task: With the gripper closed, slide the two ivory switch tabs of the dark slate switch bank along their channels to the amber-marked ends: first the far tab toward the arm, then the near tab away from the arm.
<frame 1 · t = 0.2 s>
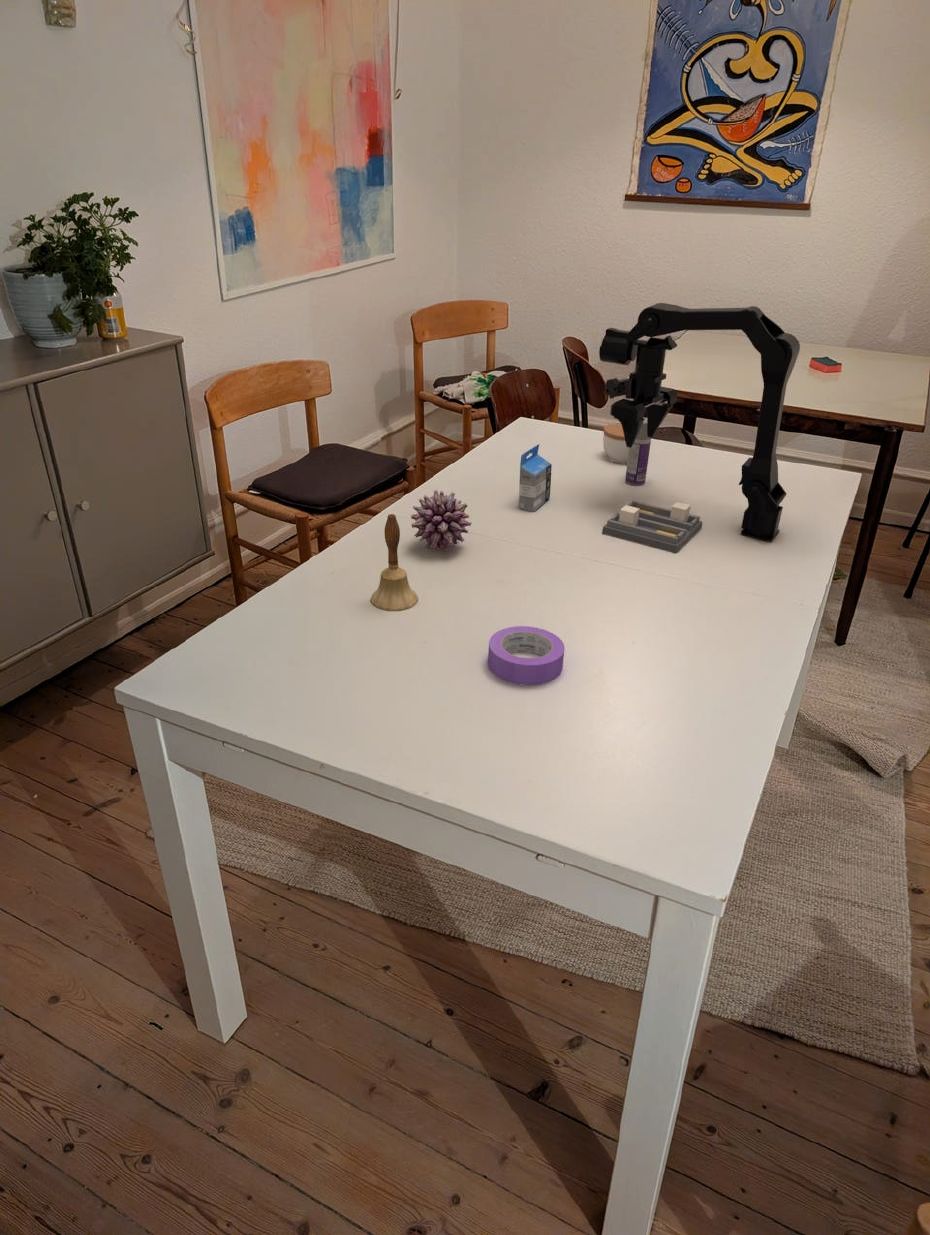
hand: (639, 442, 187), 14 cm above the table, fingers open, 9 cm apart
label tape box: (533, 505, 193), on the table
hand bell: (394, 600, 153), on the table
tab a: (680, 513, 181), point 3 cm above the table, slide at -4.0 cm
tab b: (628, 517, 179), point 3 cm above the table, slide at 4.0 cm
flower: (440, 549, 172), on the table
switch bank: (652, 530, 182), on the table
lidded jar: (621, 460, 220), on the table
masking tape: (525, 666, 136), on the table
container: (634, 483, 206), on the table
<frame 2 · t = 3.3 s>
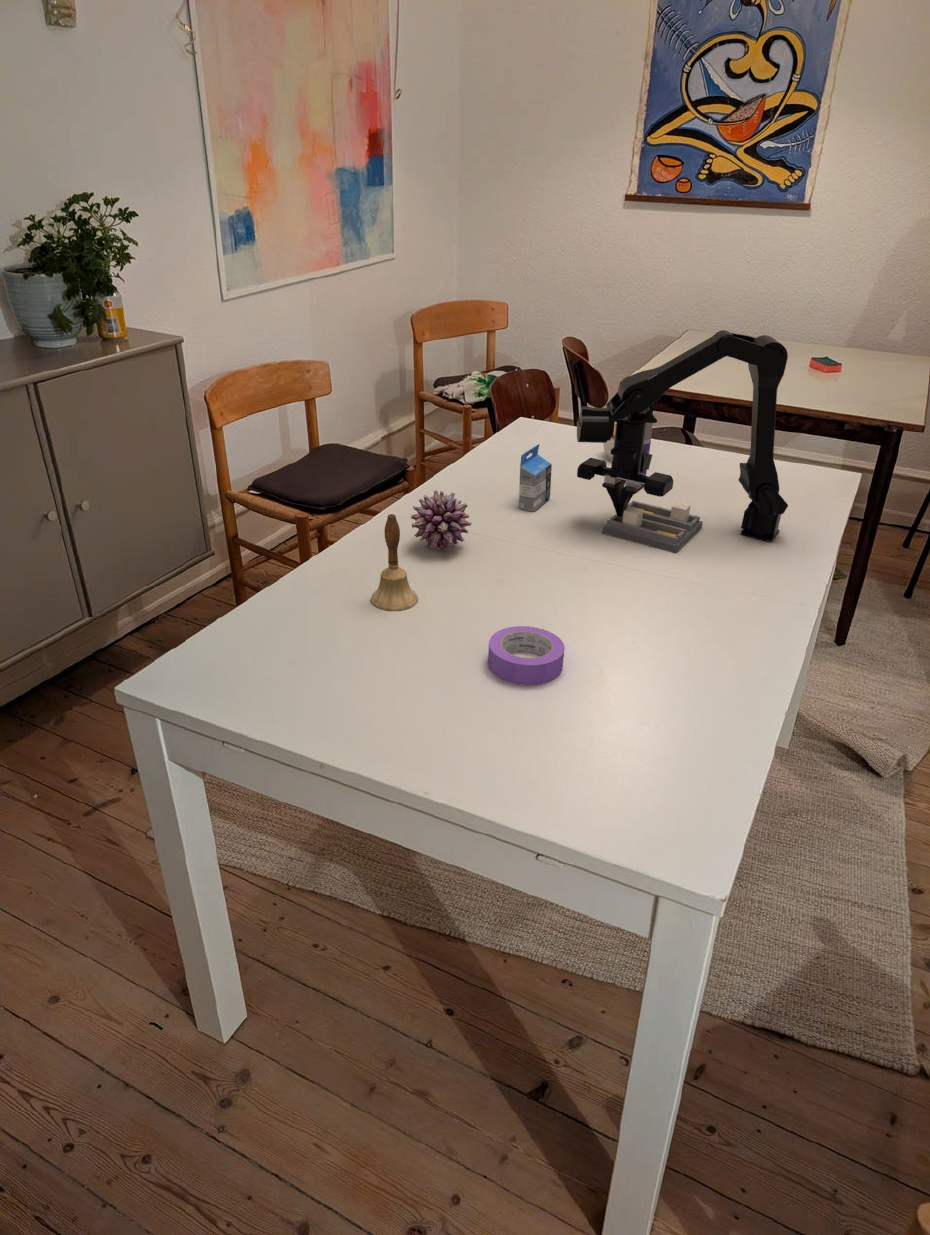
hand: (619, 515, 180), 3 cm above the table, fingers closed
tab b: (632, 518, 179), point 3 cm above the table, slide at 3.2 cm, touching gripper
everything else where it was.
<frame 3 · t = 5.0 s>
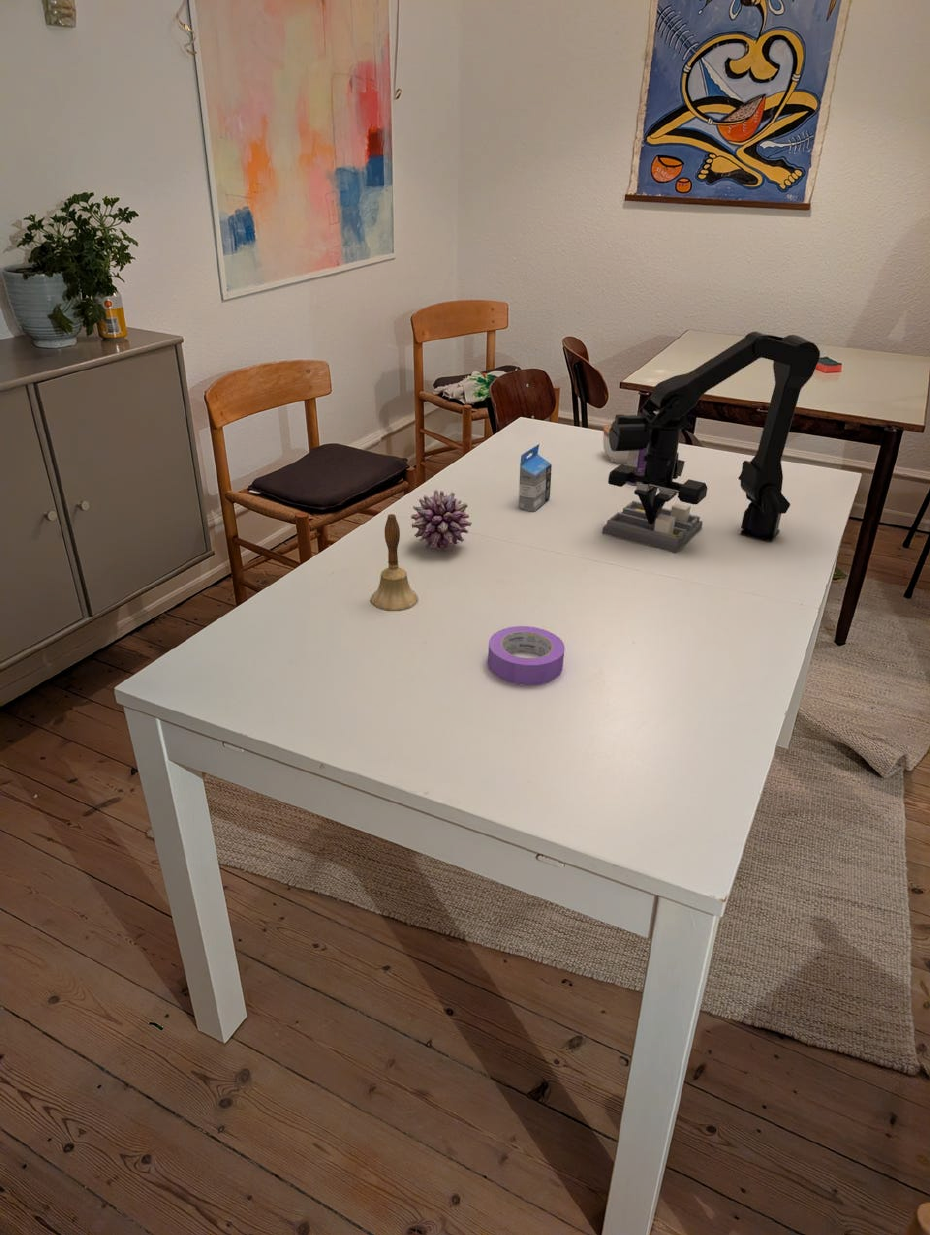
hand: (651, 523, 177), 3 cm above the table, fingers closed
tab b: (664, 526, 176), point 3 cm above the table, slide at -3.7 cm, touching gripper
everything else where it was.
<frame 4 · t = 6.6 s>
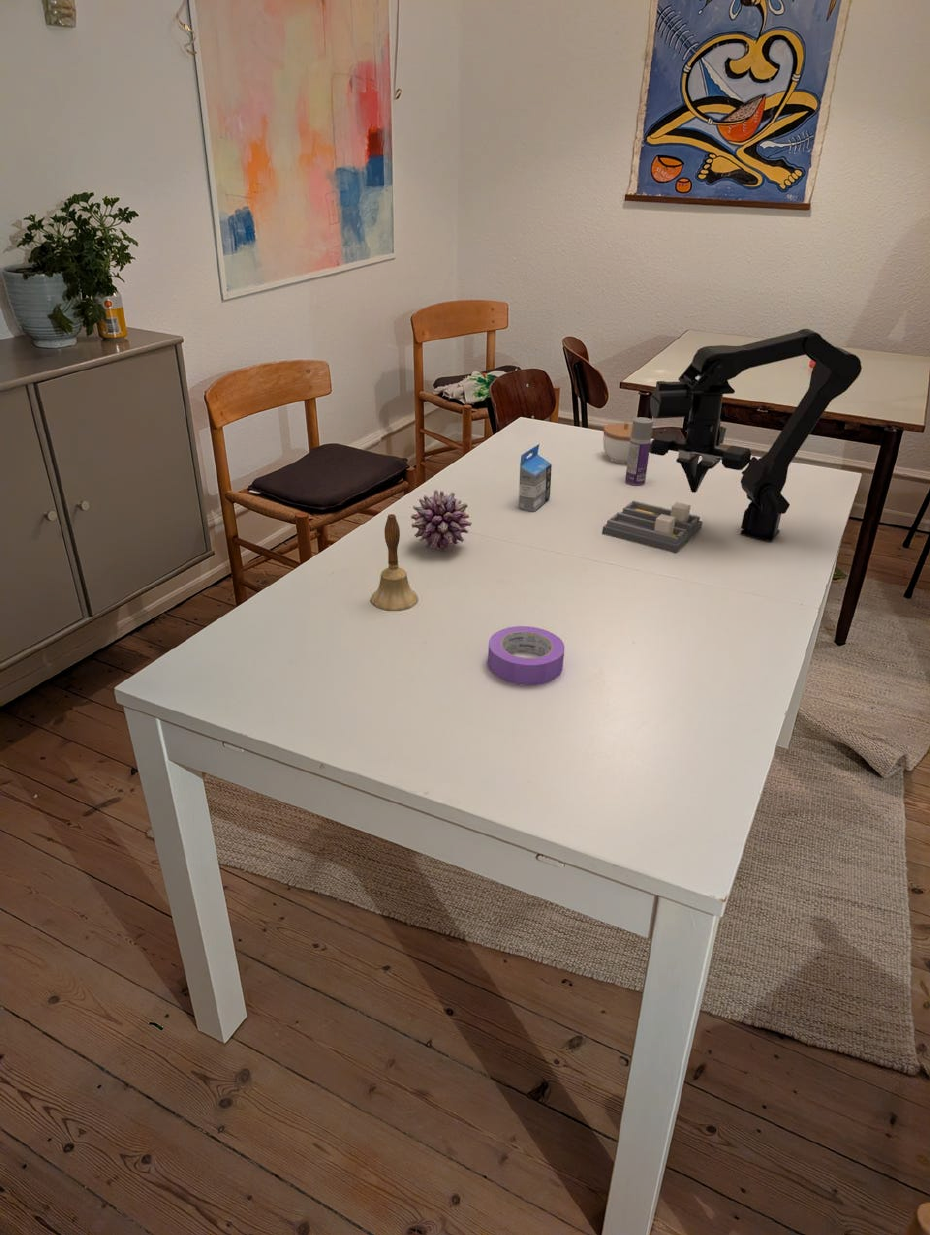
hand: (694, 492, 176), 10 cm above the table, fingers closed
tab b: (664, 526, 176), point 3 cm above the table, slide at -3.7 cm
everything else where it was.
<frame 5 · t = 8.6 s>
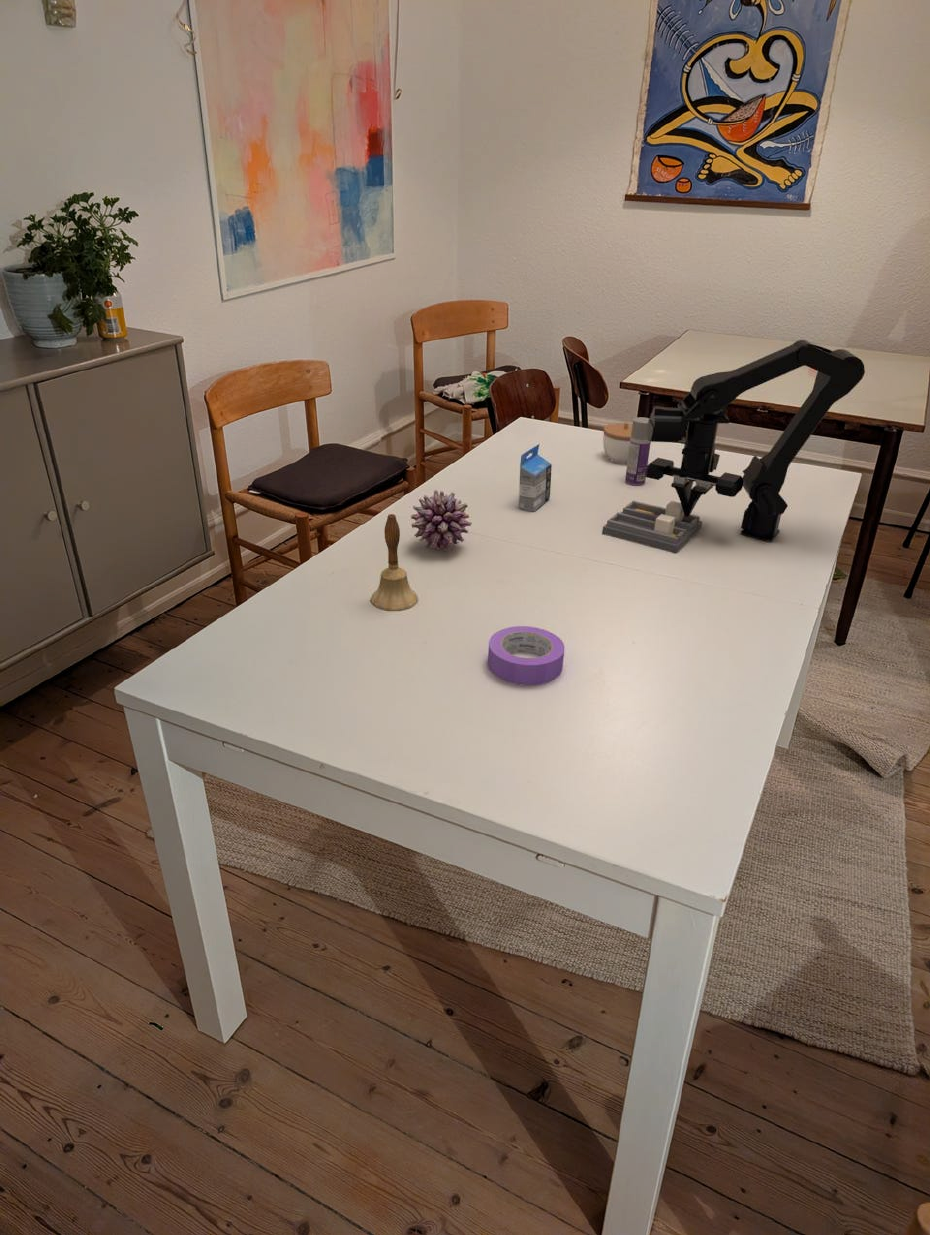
hand: (687, 515, 181), 3 cm above the table, fingers closed
tab a: (674, 512, 182), point 3 cm above the table, slide at -2.9 cm, touching gripper
everything else where it was.
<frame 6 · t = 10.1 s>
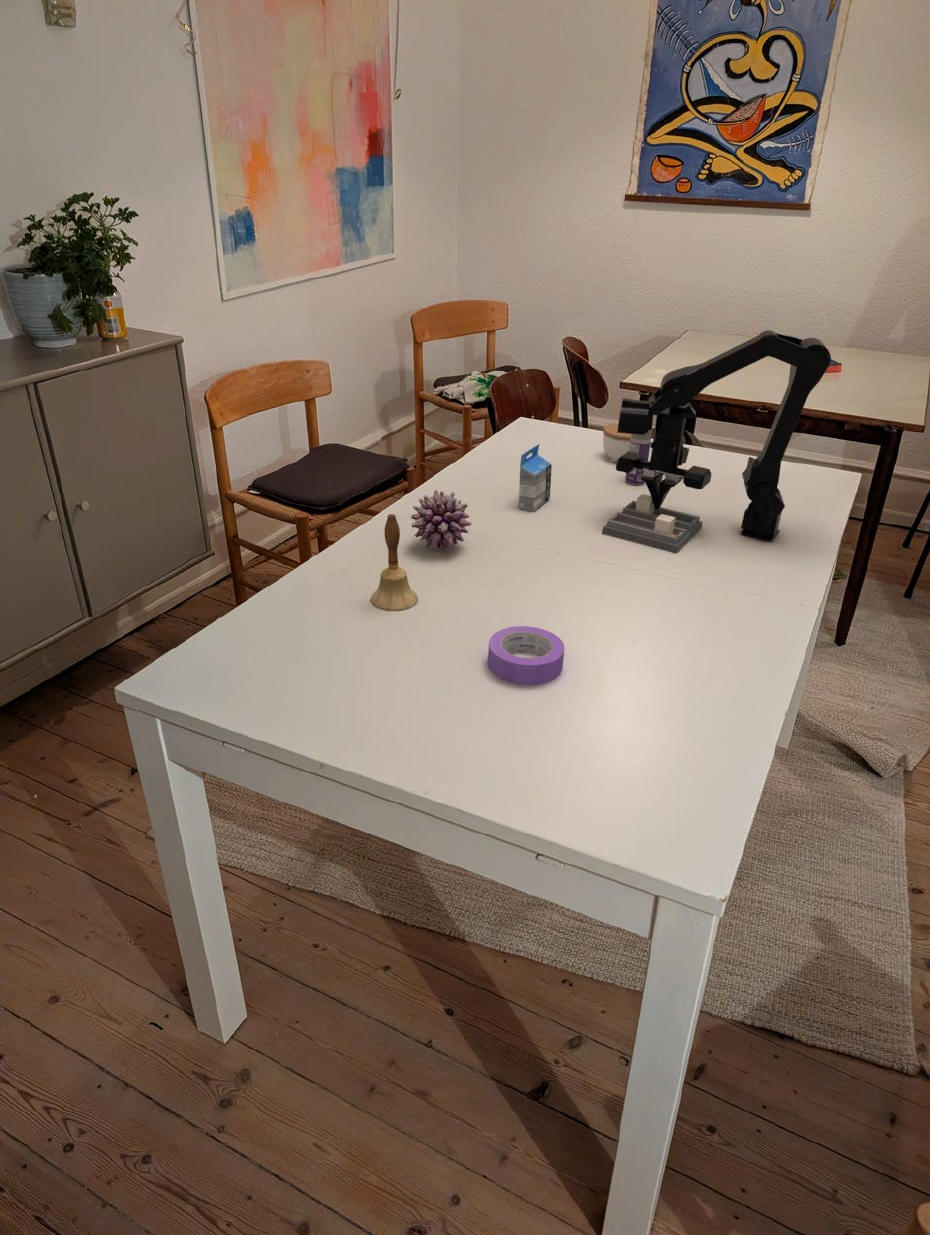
hand: (657, 508, 184), 3 cm above the table, fingers closed
tab a: (645, 505, 185), point 3 cm above the table, slide at 3.7 cm, touching gripper
everything else where it was.
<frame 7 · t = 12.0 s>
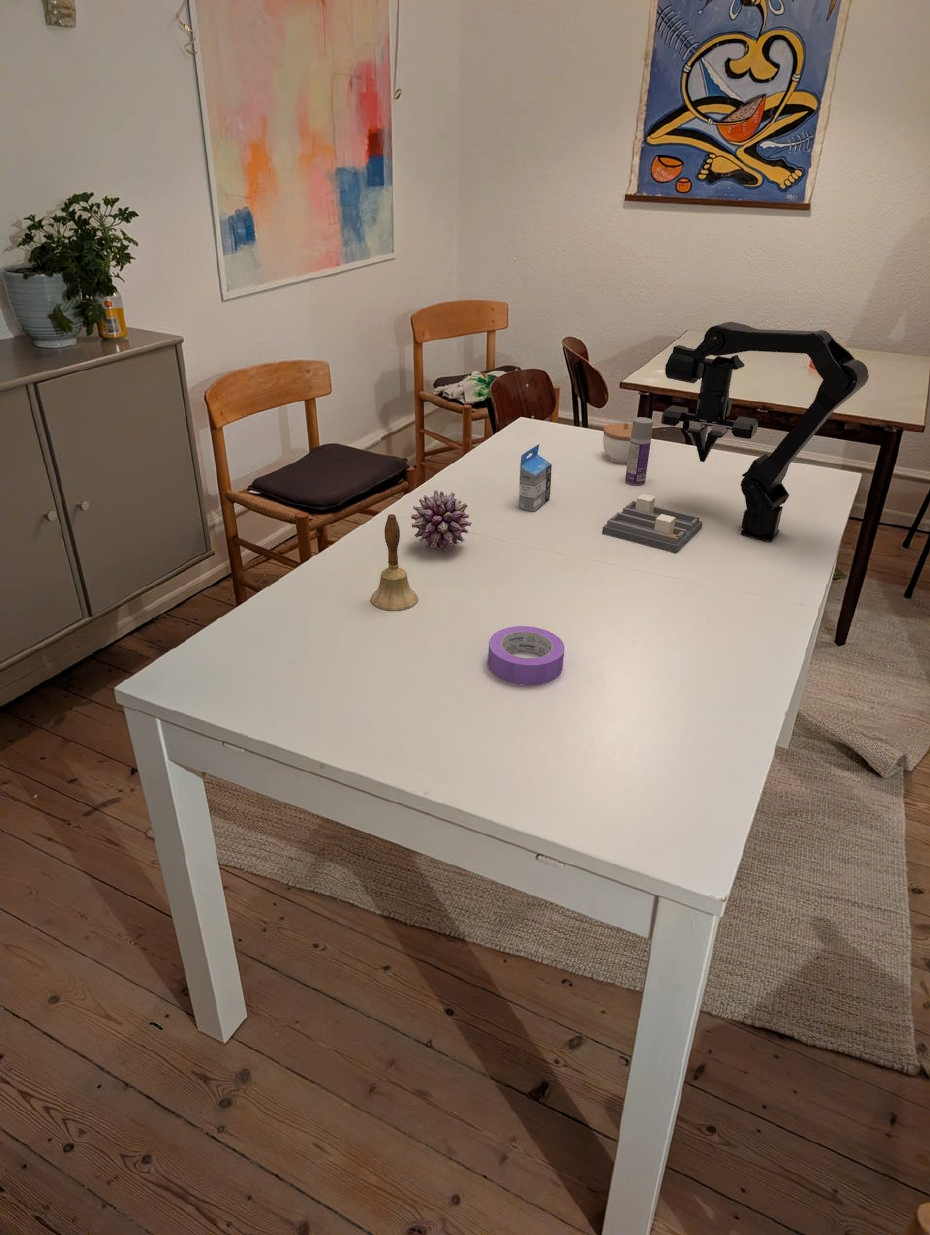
hand: (702, 461, 185), 12 cm above the table, fingers closed
tab a: (645, 505, 185), point 3 cm above the table, slide at 3.7 cm
everything else where it was.
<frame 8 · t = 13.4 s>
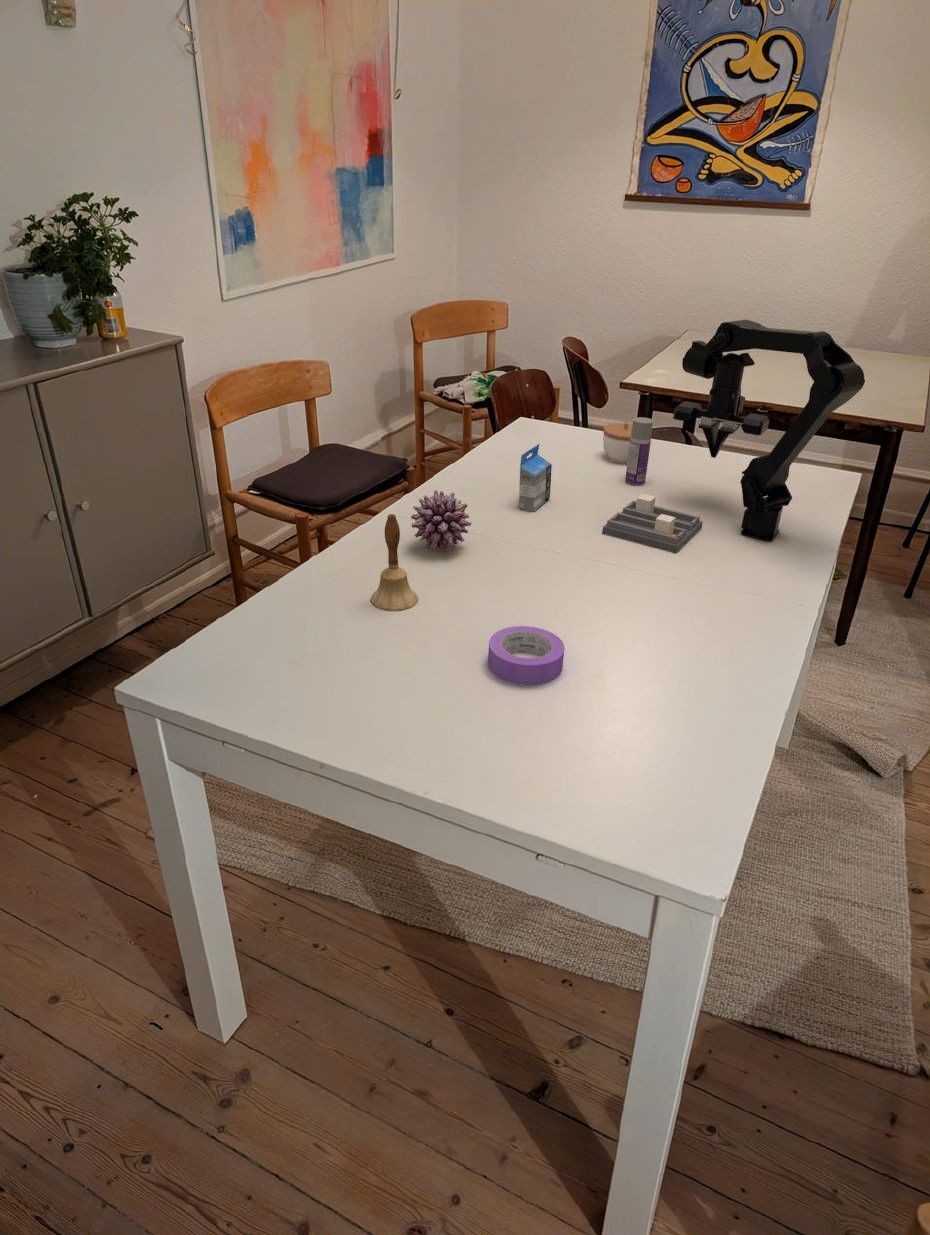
hand: (713, 457, 187), 12 cm above the table, fingers closed
nothing on the table moved.
at the end: tab b slide at -3.7 cm; tab a slide at 3.7 cm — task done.
